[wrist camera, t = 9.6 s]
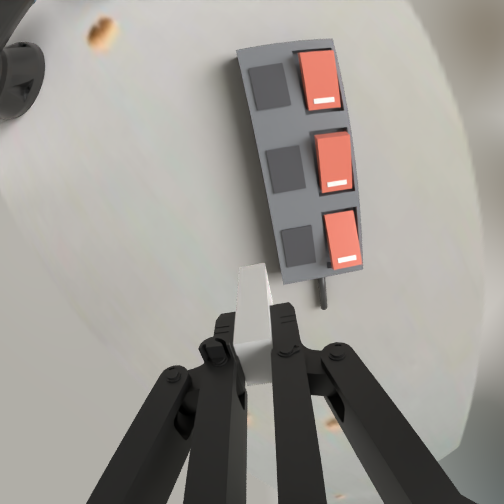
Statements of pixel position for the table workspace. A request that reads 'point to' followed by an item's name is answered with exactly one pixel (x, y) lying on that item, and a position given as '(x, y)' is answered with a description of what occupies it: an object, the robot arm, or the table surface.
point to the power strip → (296, 158)
